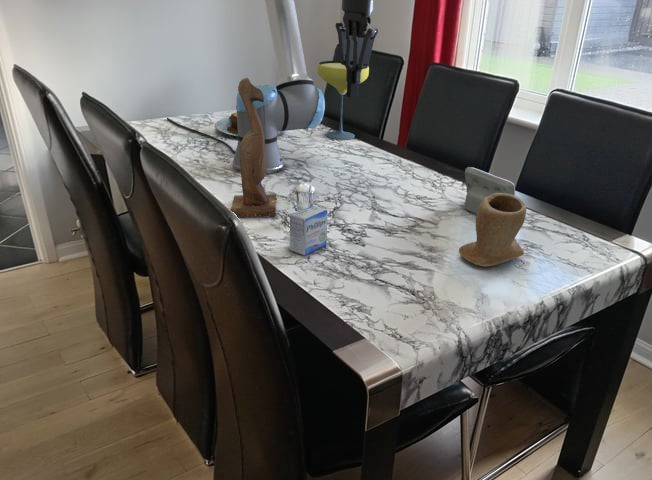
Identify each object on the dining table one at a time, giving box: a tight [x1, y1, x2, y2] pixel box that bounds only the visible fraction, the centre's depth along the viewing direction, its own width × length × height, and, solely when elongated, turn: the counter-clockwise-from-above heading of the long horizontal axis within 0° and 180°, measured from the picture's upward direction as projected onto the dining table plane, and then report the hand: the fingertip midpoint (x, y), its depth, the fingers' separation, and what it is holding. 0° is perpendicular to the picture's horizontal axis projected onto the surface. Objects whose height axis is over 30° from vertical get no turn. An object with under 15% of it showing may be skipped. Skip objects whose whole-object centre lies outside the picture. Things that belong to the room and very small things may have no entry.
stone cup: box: [458, 193, 527, 267], centre depth 125 cm, size 15×12×15 cm
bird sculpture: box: [230, 77, 278, 219], centre depth 139 cm, size 11×12×32 cm
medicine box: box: [289, 205, 329, 256], centre depth 127 cm, size 8×4×9 cm, turn 144°
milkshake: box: [295, 183, 316, 212], centre depth 140 cm, size 4×5×10 cm
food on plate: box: [214, 112, 282, 137], centre depth 211 cm, size 25×25×7 cm
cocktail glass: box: [317, 60, 370, 141], centre depth 208 cm, size 18×18×25 cm
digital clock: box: [464, 166, 516, 215], centre depth 152 cm, size 16×9×11 cm, turn 26°
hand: (352, 96), depth 148 cm, fingers closed
